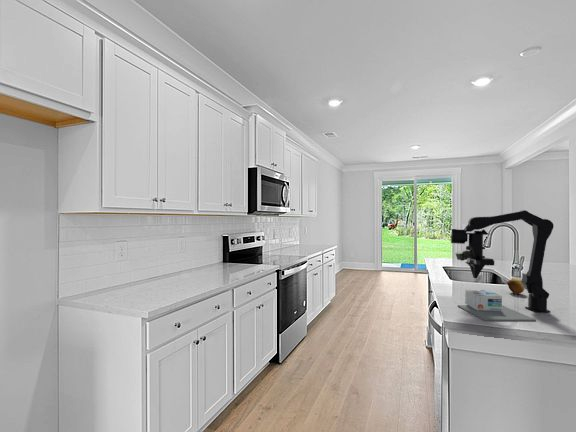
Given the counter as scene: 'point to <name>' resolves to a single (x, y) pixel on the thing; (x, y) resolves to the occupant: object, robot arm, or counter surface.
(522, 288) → the fruit
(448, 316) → the counter surface
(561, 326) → the counter surface
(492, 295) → the light bulb box
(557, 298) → the counter surface
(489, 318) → the slate mat
